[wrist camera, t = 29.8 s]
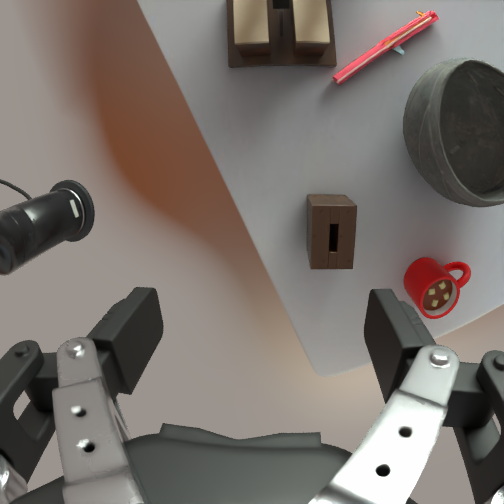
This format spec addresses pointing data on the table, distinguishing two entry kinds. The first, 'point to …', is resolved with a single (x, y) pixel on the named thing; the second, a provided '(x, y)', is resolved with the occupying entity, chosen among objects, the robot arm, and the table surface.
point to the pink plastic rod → (387, 45)
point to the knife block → (331, 231)
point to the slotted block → (268, 34)
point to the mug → (434, 286)
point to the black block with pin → (281, 10)
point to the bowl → (459, 131)
